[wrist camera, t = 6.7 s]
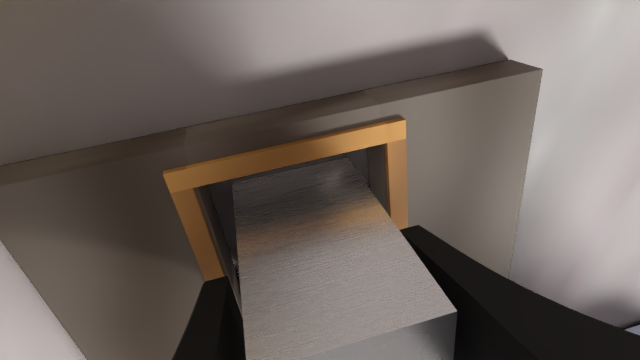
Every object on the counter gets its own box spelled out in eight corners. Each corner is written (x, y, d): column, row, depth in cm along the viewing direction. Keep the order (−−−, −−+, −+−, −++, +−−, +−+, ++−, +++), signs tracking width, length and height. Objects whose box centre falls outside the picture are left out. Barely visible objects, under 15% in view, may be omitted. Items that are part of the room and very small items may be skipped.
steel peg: (346, 156, 13) (457, 310, 7) (356, 245, 15) (447, 423, 9) (232, 183, 12) (247, 375, 7) (257, 271, 15) (286, 479, 9)
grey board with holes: (509, 59, 13) (548, 70, 11) (473, 365, 21) (492, 394, 20) (-3, 166, 11) (-38, 197, 9) (187, 459, 19) (184, 499, 18)
